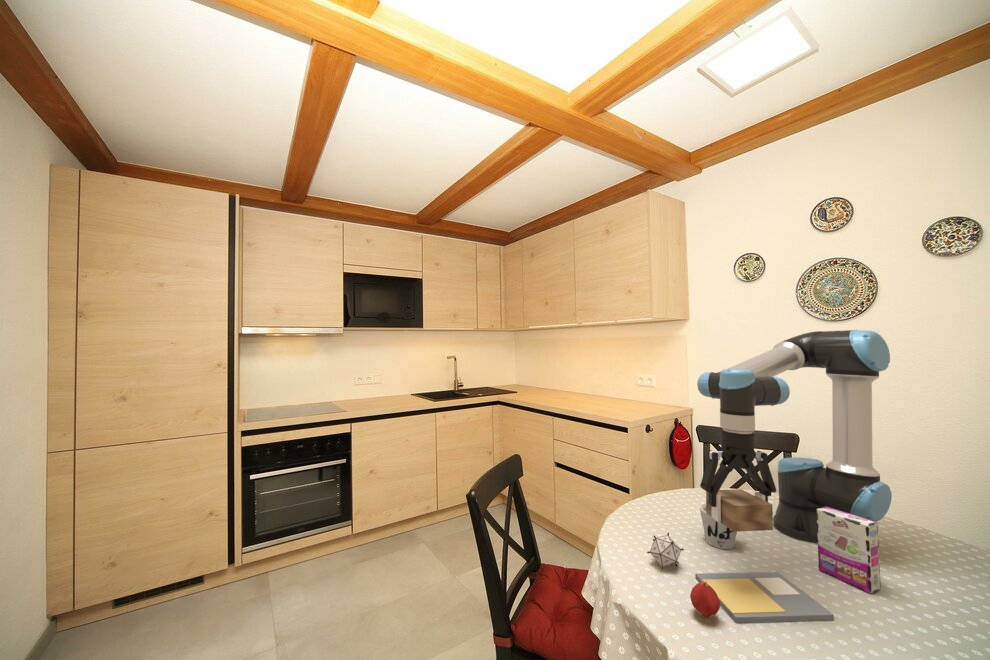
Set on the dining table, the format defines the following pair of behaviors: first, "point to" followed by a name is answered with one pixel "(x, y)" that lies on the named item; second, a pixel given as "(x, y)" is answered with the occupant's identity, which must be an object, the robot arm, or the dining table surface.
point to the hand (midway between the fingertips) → (738, 519)
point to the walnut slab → (743, 511)
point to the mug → (717, 531)
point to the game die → (665, 551)
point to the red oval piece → (705, 599)
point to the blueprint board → (763, 598)
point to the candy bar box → (849, 548)
